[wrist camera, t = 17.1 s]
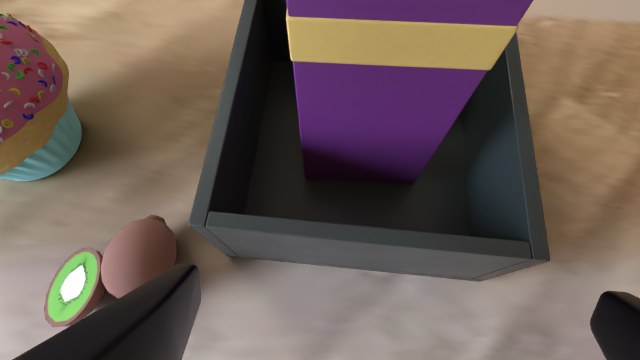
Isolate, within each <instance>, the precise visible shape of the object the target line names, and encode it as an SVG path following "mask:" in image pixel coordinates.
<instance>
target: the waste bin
mask: <svg viewBox="0 0 640 360" xmlns="http://www.w3.org/2000/svg"><path fill="white" fill-rule="evenodd" d="M286 14H287V2H286V0H244V4H243V8H242V12H241V16H240V20H239V24H238V28H237V32H236V36H235V40H234V44H233V48H232V52H231V56H230V60H229V64H228V68H227V72H226V76H225V80H224V84H223V88H222V92H221V96H220V100H219V104H218V108H217V112H216V116H215V120H214V124H213V128H212V132H211V136H210V140H209V144H208V148H207V152H206V156H205V160H204V164H203V168H202V172H201V176H200V180H199V184H198V188H197V192H196V196H195V200H194V204H193V208H192V212H191V216H190V220H189V226H190V227H191V228H193V229H194V230H195V231H196V232H198V233H199V234H200V235H202V236H203V237H204V238H205V239H207V240H208V241H209V242H211V243H212V244H213V245H214V246H216V247H217V248H218V249H219V250H221V251H222V252H223V253H225V254H226V255H227V256H233V257H243V258H252V259H262V260H272V261H282V262H292V263H302V264H312V265H322V266H332V267H342V268H351V269H361V270H371V271H381V272H391V273H401V274H411V275H421V276H431V277H441V278H450V279H460V280H470V281H483V280H486V279H490V278H493V277H497V276H500V275H503V274H507V273H510V272H513V271H517V270H520V269H524V268H527V267H530V266H534V265H537V264H541V263H544V262H547V261H550V254H549V248H548V241H547V234H546V228H545V221H544V214H543V208H542V201H541V194H540V188H539V181H538V174H537V168H536V161H535V154H534V148H533V141H532V134H531V128H530V121H529V114H528V107H527V101H526V94H525V87H524V81H523V74H522V67H521V61H520V54H519V47H518V41H517V34H516V32H515V34H514V35H513V37H512V38H511V40H510V41H509V43H508V44H507V46H506V47H505V49H504V50H503V52H502V53H501V55H500V57H499V58H498V60H497V61H496V63H495V64H494V66H493V67H492V69H490V70H488V71H487V72H486V74H485V75H484V77H483V79H482V80H481V82H480V83H479V85H478V86H477V88H476V89H475V91H474V92H473V94H472V95H471V97H470V99H469V100H468V102H467V103H466V105H465V106H464V108H463V109H462V111H461V112H460V114H459V116H458V117H457V119H456V120H455V122H454V123H453V125H452V126H451V128H450V129H449V131H448V132H447V134H446V136H445V137H444V139H443V140H442V142H441V143H440V145H439V146H438V148H437V149H436V151H435V153H434V154H433V156H432V157H431V159H430V160H429V162H428V163H427V165H426V166H425V168H424V170H423V171H422V173H421V174H420V176H419V177H418V179H417V180H416V182H415V183H414V184H397V183H379V182H360V181H341V180H323V179H306V178H305V175H304V166H303V156H302V146H301V137H300V127H299V117H298V108H297V98H296V88H295V79H294V69H293V61H292V60H291V58H290V50H289V41H288V32H287V23H286Z"/></svg>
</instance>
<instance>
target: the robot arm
mask: <svg viewBox="0 0 640 360" xmlns="http://www.w3.org/2000/svg"><path fill="white" fill-rule="evenodd" d="M200 301H201V289H200V280H199V271H198V268H197V266H195V265H190V264H178V265H176V266H174V267H172V268H170V269H169V270H167V271H165V272H163V273H162V274H160V275H158V276H157V277H155V278H153V279H151V280H150V281H148V282H146V283H144V284H143V285H141V286H139V287H137V288H136V289H134V290H132V291H131V292H129V293H127V294H125V295H124V296H122V297H120V298H118V299H117V300H115V301H113V302H112V303H110V304H108V305H106V306H105V307H103V308H101V309H99V310H98V311H96V312H94V313H92V314H91V315H89V316H87V317H86V318H84V319H82V320H80V321H79V322H77V323H75V324H73V325H72V326H70V327H68V328H67V329H65V330H63V331H61V332H60V333H58V334H56V335H54V336H53V337H51V338H49V339H47V340H46V341H44V342H42V343H41V344H39V345H37V346H35V347H34V348H32V349H30V350H28V351H27V352H25V353H23V354H21V355H20V356H18V357H16V358H15V359H13V360H182V357H183V354H184V351H185V348H186V345H187V342H188V339H189V336H190V333H191V330H192V327H193V324H194V321H195V318H196V314H197V311H198V308H199V305H200ZM590 326H591V330H592V333H593V335H594V336H595V338H596V340H597V342H598V344H599V346H600V348H601V350H602V352H603V354H604V356H605V358H606V360H640V298H638V297H636V296H634V295H632V294H629V293H626V292H617V291H606V292H604V293H603V294H601V296H600V298H599V300H598V303H597V305H596V308H595V310H594V312H593V315H592V317H591V320H590Z"/></svg>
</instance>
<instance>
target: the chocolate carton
mask: <svg viewBox="0 0 640 360" xmlns="http://www.w3.org/2000/svg"><path fill="white" fill-rule="evenodd" d="M532 1H533V0H286V2H287V14H286V23H287V32H288V41H289V50H290V58H291V60H292V61H293V69H294V79H295V88H296V98H297V108H298V117H299V127H300V137H301V146H302V156H303V166H304V175H305V178H306V179H323V180H341V181H360V182H379V183H397V184H414V183H415V182H416V180H417V179H418V177H419V176H420V174H421V173H422V171H423V170H424V168H425V166H426V165H427V163H428V162H429V160H430V159H431V157H432V156H433V154H434V153H435V151H436V149H437V148H438V146H439V145H440V143H441V142H442V140H443V139H444V137H445V136H446V134H447V132H448V131H449V129H450V128H451V126H452V125H453V123H454V122H455V120H456V119H457V117H458V116H459V114H460V112H461V111H462V109H463V108H464V106H465V105H466V103H467V102H468V100H469V99H470V97H471V95H472V94H473V92H474V91H475V89H476V88H477V86H478V85H479V83H480V82H481V80H482V79H483V77H484V75H485V74H486V72H487V71H488V70H490V69H492V67H493V66H494V64H495V63H496V61H497V60H498V58H499V57H500V55H501V53H502V52H503V50H504V49H505V47H506V46H507V44H508V43H509V41H510V40H511V38H512V37H513V35H514V34H515V32H516V31H517V29H518V23H519V21H520V20H521V18H522V17H523V15H524V14H525V12H526V11H527V9H528V8H529V6H530V4H531V3H532Z"/></svg>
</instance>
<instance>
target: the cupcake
mask: <svg viewBox="0 0 640 360" xmlns="http://www.w3.org/2000/svg"><path fill="white" fill-rule="evenodd" d="M7 15H8V17H7V16H5V15H3V14H0V179H7V180H13V181H33V180H38V179H41V178H44V177H47V176H49V175H51V174H53V173H55V172H56V171H58V170H59V169H61V168H62V167H63V166H64V165H65V164H67V163H68V162H69V160H70V159H71V158H72V157H73V156H74V154H75V153H76V151H77V149H78V147H79V145H80V142H81V137H82V128H81V124H80V121H79V119H78V117H77V115H76V114H75V112H74V110H73V108H72V105H71V103H70V101H69V98H68V94H67V89H68V78H69V71H68V67H67V65H66V63H65V62H64V60H63V59H62V58H61V56H60V55H59V54H58V52H57V51H56V49H55V48H54V46H53V45H52V44H51V43H50V42H49V41H48V40H46V39H45V38H44V37H43V36H41V35H39V34H38V33H37V32H36V31H35V30H33V29H32V28H30V27H29V25H27V26H26V25H24V24H22V23H21V22H20V21H18V20H17V19H15V18H13V17H12V16H11V15H10V14H8V13H7Z"/></svg>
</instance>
